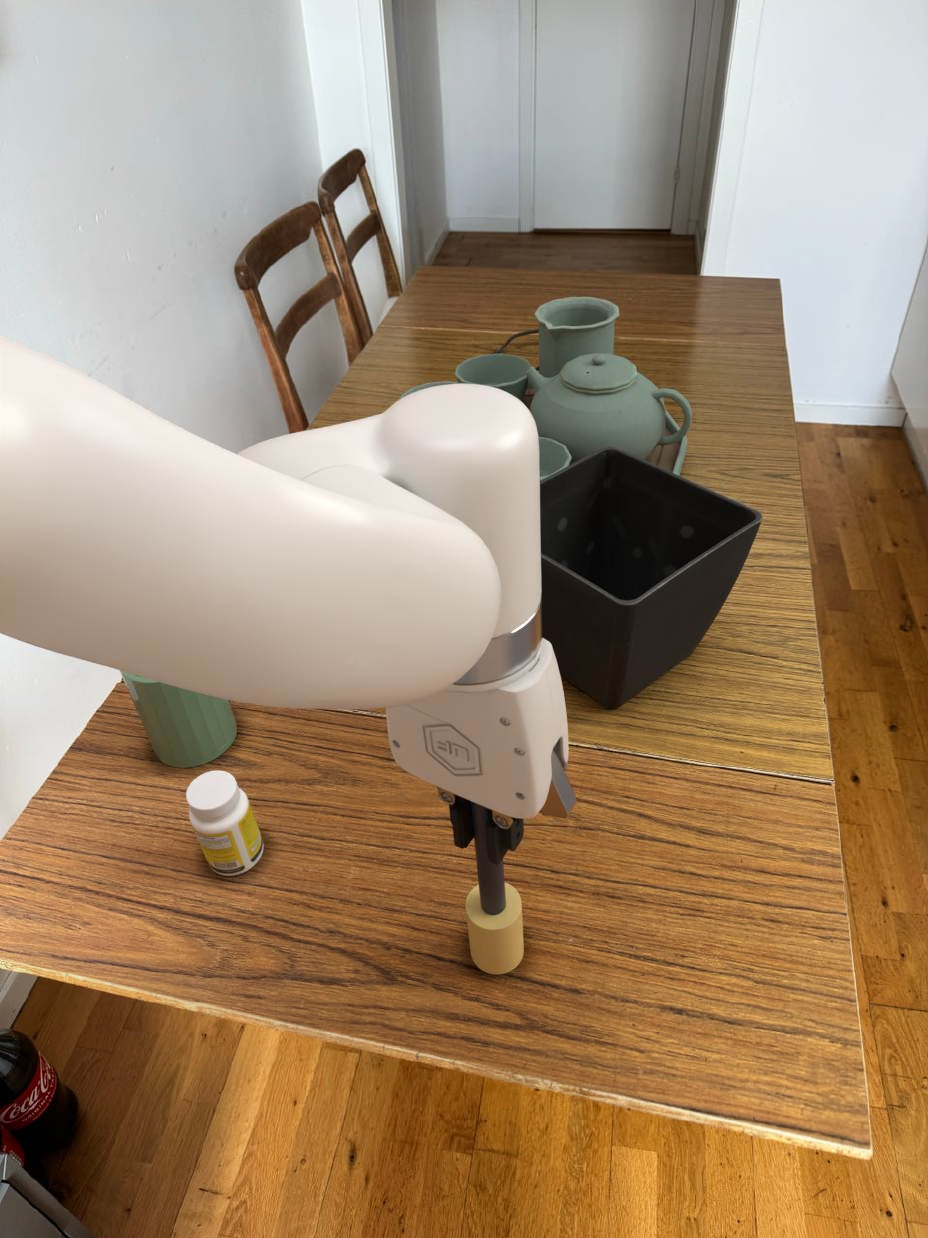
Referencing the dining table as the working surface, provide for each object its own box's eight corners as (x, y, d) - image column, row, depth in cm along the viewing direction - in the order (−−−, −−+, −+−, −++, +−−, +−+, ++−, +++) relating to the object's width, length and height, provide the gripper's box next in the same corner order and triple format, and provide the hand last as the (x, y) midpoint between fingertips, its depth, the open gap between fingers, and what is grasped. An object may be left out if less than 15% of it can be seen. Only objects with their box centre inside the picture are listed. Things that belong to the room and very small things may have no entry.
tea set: (393, 411, 138) (380, 305, 127) (652, 390, 137) (660, 282, 127) (387, 560, 107) (368, 436, 97) (720, 534, 106) (737, 407, 96)
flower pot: (744, 651, 90) (768, 510, 80) (620, 749, 81) (629, 605, 71) (603, 574, 102) (608, 442, 91) (481, 652, 93) (470, 516, 82)
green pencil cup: (227, 766, 83) (196, 680, 76) (143, 769, 83) (105, 684, 76) (245, 705, 89) (218, 621, 82) (167, 708, 90) (134, 624, 83)
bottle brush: (524, 974, 65) (516, 808, 53) (470, 975, 65) (449, 810, 53) (522, 925, 68) (515, 758, 56) (470, 926, 68) (452, 760, 56)
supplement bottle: (247, 821, 78) (224, 756, 72) (274, 855, 75) (253, 789, 70) (197, 852, 76) (170, 788, 70) (223, 888, 73) (197, 823, 67)
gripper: (308, 621, 48) (357, 834, 59) (576, 719, 41) (572, 938, 52) (388, 549, 53) (419, 759, 64) (639, 625, 46) (623, 845, 57)
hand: (488, 838), depth 58 cm, fingers closed on bottle brush
